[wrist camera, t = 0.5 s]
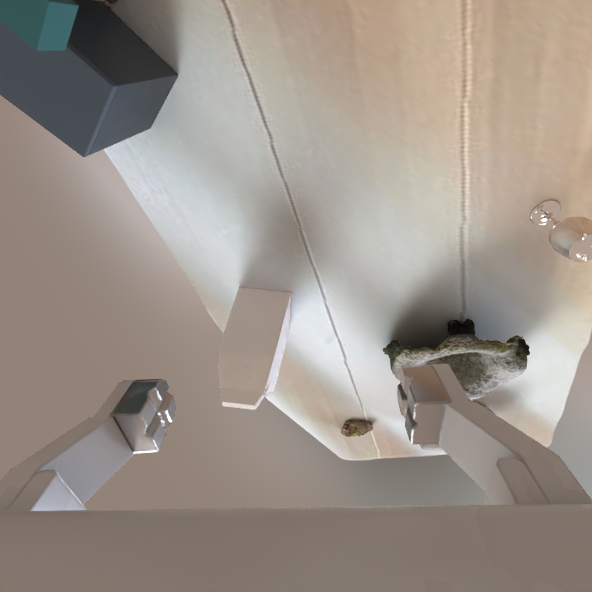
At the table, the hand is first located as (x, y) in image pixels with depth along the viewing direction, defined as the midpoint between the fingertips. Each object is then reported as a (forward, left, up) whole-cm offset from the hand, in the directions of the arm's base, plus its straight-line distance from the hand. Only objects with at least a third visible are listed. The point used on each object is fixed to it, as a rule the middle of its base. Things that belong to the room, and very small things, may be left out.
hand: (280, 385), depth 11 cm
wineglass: (-13, +39, -49) cm, 64 cm away
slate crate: (+13, -28, -49) cm, 58 cm away
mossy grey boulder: (+17, +53, -49) cm, 74 cm away
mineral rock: (+61, +67, -49) cm, 103 cm away
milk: (+39, +15, -49) cm, 64 cm away
